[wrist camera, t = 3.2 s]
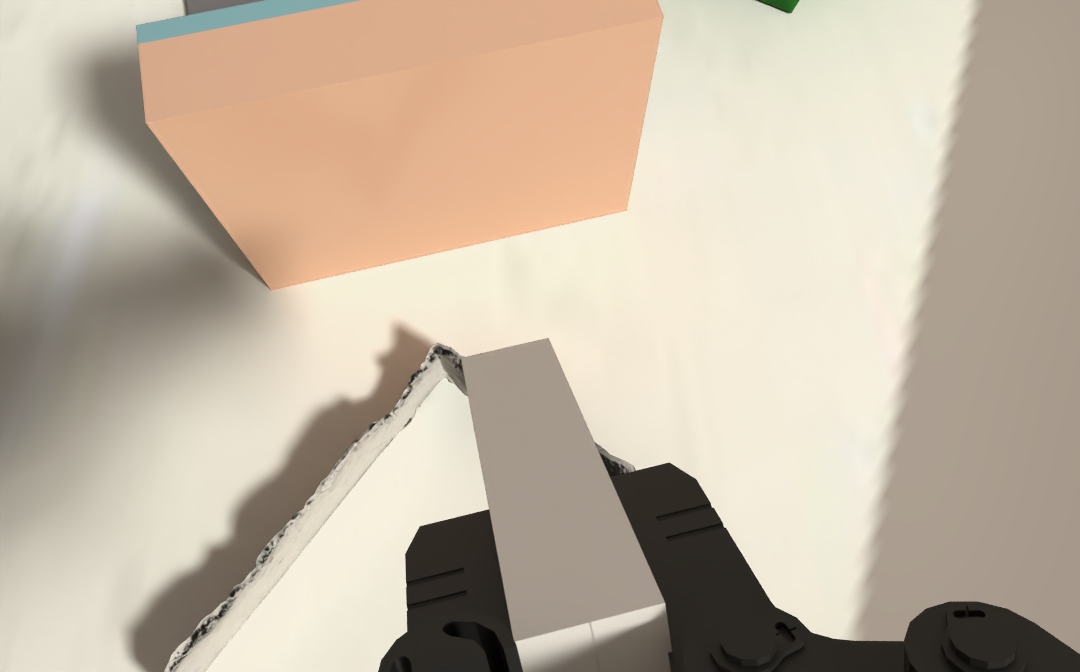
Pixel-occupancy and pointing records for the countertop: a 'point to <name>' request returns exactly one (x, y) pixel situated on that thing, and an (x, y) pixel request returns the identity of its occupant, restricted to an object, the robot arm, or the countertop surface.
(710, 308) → the countertop surface
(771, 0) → the milk carton
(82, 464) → the countertop surface
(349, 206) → the terracotta tile
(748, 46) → the countertop surface
